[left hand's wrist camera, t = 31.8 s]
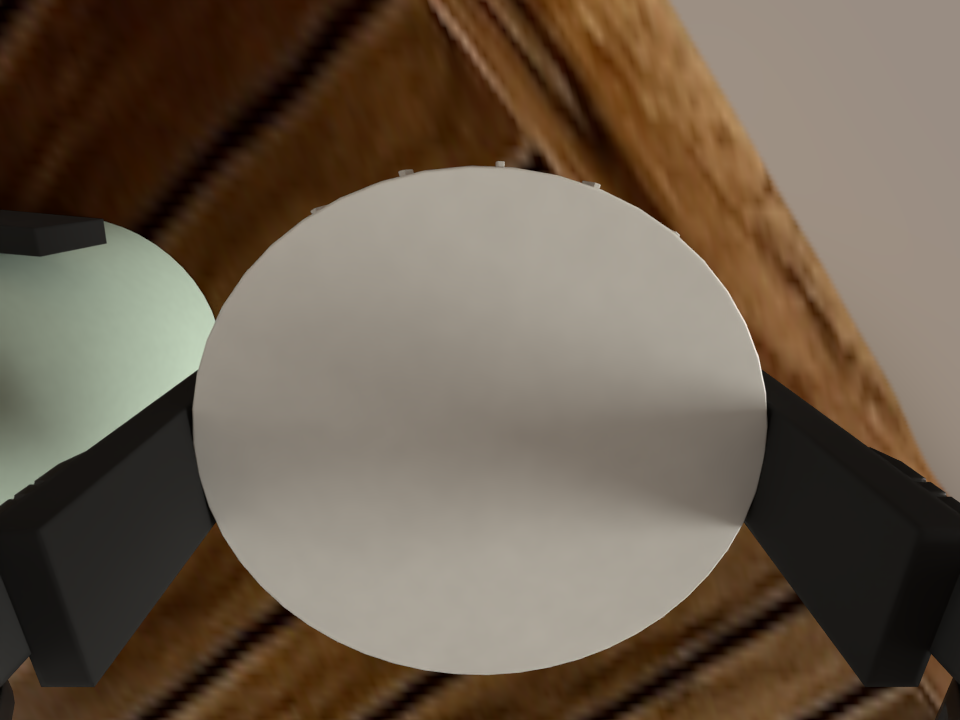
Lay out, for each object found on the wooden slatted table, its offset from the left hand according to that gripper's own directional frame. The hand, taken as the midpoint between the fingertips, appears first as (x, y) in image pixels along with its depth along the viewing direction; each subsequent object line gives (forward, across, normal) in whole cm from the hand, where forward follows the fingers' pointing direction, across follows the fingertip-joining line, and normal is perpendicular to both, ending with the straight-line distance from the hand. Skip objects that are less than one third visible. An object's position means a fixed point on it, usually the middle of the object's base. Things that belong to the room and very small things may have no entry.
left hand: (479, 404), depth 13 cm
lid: (-3, 0, 0) cm, 3 cm away
